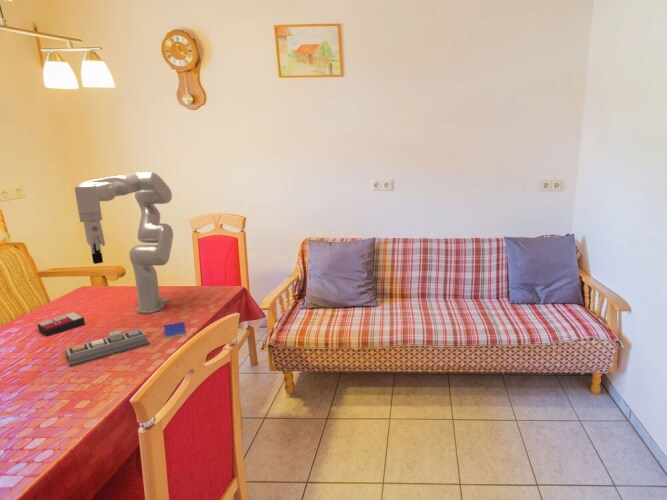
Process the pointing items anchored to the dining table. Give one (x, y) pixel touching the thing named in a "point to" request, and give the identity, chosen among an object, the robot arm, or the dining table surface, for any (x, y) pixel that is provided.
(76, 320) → the calculator
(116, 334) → the key
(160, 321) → the dining table surface
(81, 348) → the key
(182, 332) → the hard drive
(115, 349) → the keypad
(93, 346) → the key
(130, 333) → the key
